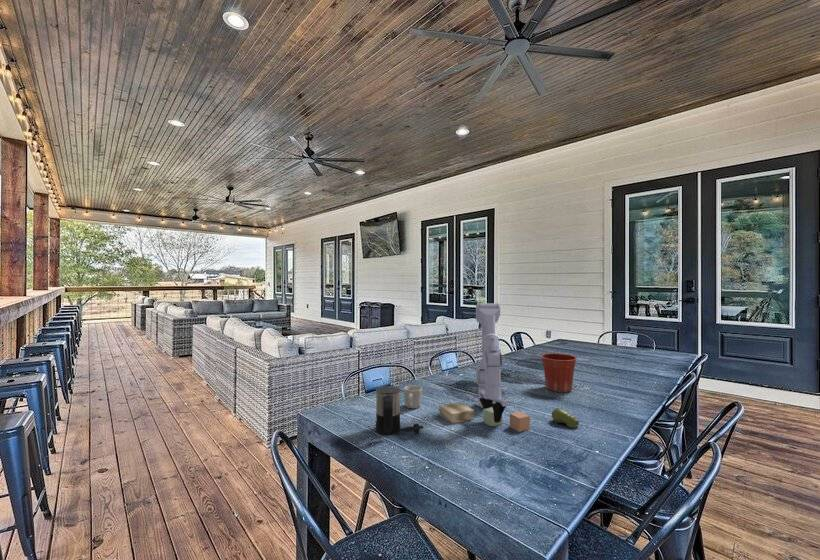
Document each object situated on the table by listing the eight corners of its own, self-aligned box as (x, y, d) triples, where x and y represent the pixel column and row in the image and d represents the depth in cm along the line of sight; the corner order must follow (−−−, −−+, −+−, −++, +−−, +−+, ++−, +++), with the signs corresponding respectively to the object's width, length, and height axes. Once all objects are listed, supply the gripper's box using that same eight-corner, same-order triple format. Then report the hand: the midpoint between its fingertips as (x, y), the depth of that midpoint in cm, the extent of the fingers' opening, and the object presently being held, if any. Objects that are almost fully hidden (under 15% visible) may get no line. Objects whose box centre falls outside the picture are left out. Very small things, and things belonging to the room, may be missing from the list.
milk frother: (372, 426, 137) (372, 386, 137) (412, 420, 143) (412, 382, 143) (383, 442, 124) (383, 398, 124) (426, 435, 130) (427, 393, 129)
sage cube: (493, 419, 144) (493, 406, 144) (502, 424, 140) (502, 411, 140) (483, 421, 142) (483, 408, 142) (491, 426, 138) (491, 413, 138)
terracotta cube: (520, 424, 140) (520, 411, 140) (529, 429, 135) (529, 415, 135) (509, 427, 138) (509, 413, 138) (519, 432, 133) (519, 418, 133)
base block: (460, 412, 153) (460, 402, 153) (474, 420, 144) (474, 410, 144) (439, 415, 149) (439, 405, 149) (452, 424, 140) (452, 414, 140)
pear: (557, 404, 146) (582, 416, 138) (555, 417, 146) (580, 429, 139) (550, 407, 142) (575, 419, 135) (547, 420, 143) (572, 433, 135)
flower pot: (533, 386, 188) (533, 354, 188) (557, 382, 195) (558, 352, 195) (559, 396, 173) (559, 361, 173) (584, 391, 180) (584, 358, 180)
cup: (419, 413, 151) (419, 393, 151) (400, 411, 153) (400, 392, 153) (423, 404, 162) (423, 385, 162) (405, 402, 163) (405, 384, 163)
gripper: (472, 380, 146) (472, 414, 146) (497, 390, 133) (496, 428, 133) (487, 377, 149) (487, 411, 149) (512, 387, 136) (512, 424, 136)
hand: (492, 419), depth 141 cm, fingers closed on sage cube, 5 cm apart
